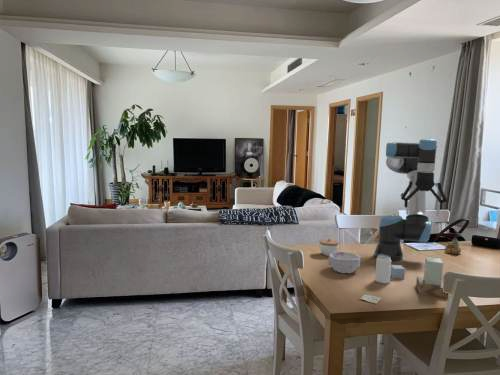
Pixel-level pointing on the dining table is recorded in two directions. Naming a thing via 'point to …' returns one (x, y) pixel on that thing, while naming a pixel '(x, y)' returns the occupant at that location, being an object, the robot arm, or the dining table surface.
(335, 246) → the lidded jar
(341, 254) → the paper bowls
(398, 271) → the slate block
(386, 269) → the can
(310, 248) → the dining table surface
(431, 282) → the sage block
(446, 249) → the ornament
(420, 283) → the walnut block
